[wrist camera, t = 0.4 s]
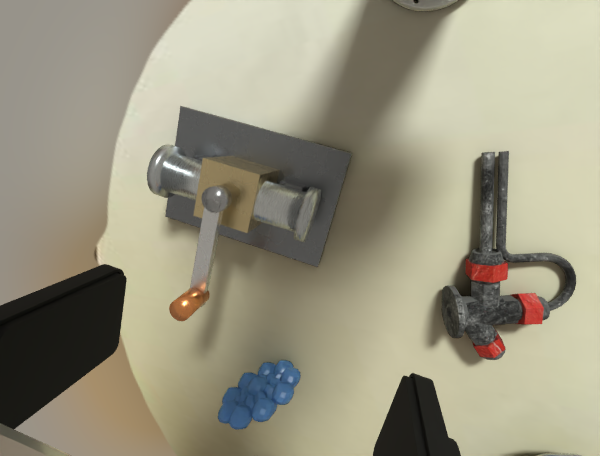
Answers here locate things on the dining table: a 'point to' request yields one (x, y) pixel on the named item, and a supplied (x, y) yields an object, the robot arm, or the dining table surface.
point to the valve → (496, 276)
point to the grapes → (259, 394)
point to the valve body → (252, 183)
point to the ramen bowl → (553, 455)
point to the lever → (203, 253)
